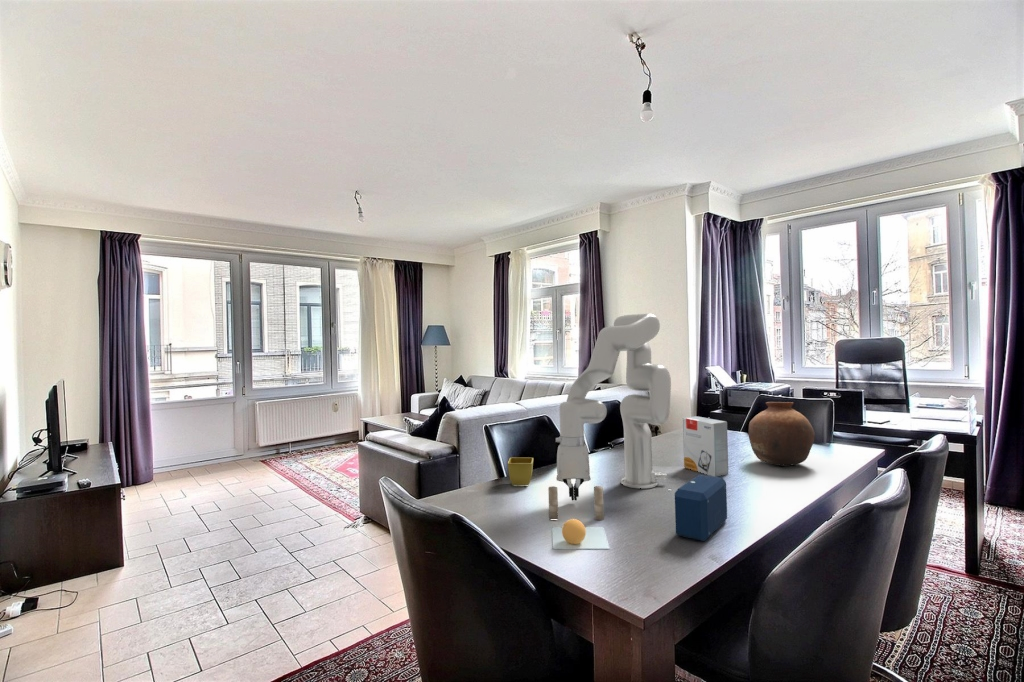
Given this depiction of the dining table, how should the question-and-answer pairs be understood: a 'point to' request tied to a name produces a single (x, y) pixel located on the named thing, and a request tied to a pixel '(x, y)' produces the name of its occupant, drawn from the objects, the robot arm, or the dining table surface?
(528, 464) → the flower pot
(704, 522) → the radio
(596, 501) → the post
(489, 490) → the dining table surface
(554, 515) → the post
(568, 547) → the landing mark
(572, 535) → the ball
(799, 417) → the pottery
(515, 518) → the dining table surface
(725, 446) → the hard drive box
